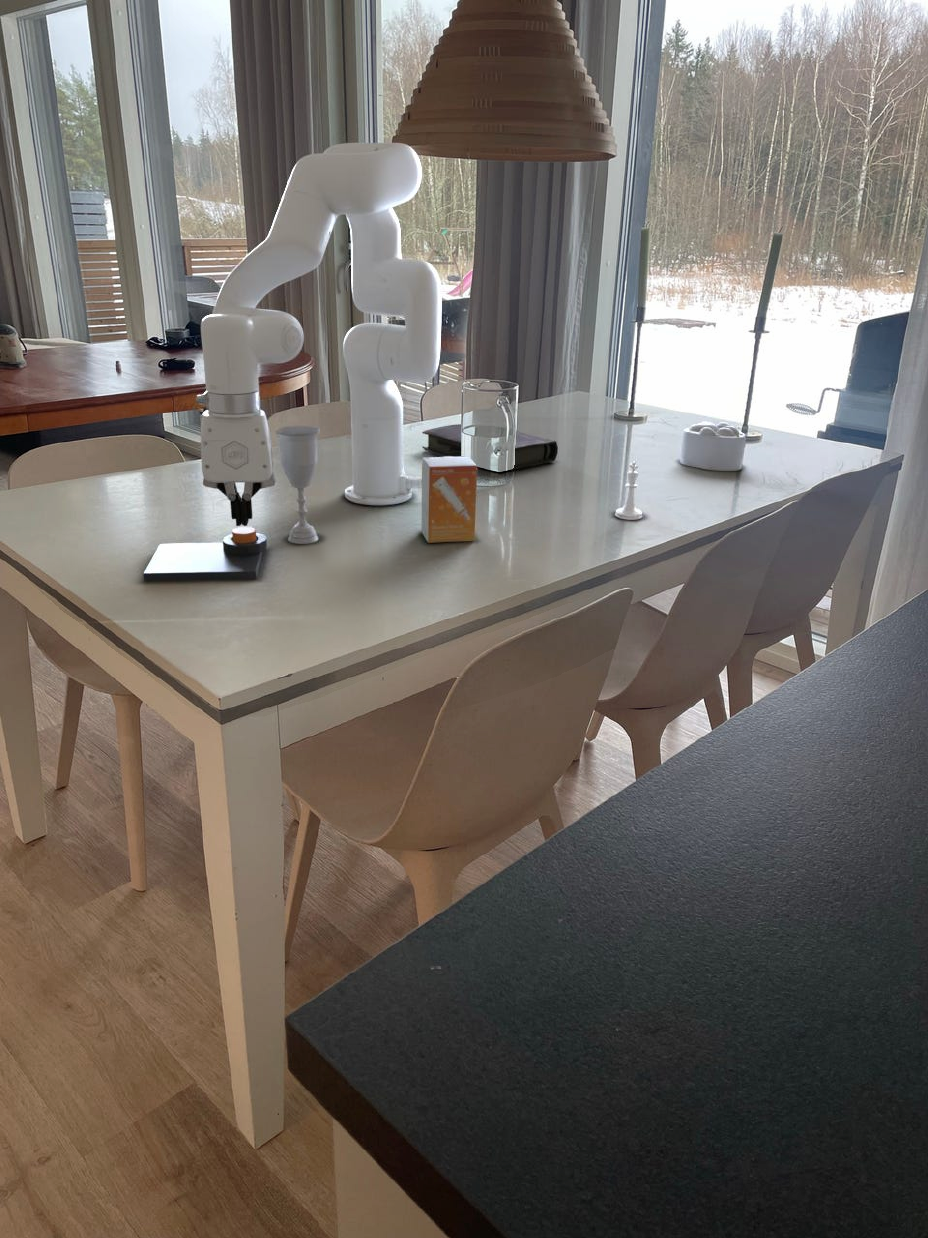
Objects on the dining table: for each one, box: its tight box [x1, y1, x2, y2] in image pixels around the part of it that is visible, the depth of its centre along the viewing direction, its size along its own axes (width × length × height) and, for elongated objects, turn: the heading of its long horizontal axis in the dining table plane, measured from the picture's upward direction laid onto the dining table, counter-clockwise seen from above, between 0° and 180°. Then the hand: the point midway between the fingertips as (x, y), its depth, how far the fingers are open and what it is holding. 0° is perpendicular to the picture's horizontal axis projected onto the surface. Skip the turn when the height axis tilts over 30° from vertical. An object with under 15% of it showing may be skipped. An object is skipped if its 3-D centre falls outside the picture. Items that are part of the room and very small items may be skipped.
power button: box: [231, 526, 257, 543], centre depth 144 cm, size 4×4×2 cm
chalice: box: [275, 425, 320, 545], centre depth 150 cm, size 7×7×18 cm
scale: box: [142, 532, 268, 583], centre depth 141 cm, size 17×13×3 cm
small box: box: [420, 456, 478, 544], centre depth 154 cm, size 8×6×13 cm
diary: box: [422, 423, 559, 471], centre depth 206 cm, size 19×25×5 cm
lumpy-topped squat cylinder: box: [679, 421, 747, 472], centre depth 203 cm, size 10×13×9 cm
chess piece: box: [614, 461, 643, 521], centre depth 167 cm, size 5×5×10 cm
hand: (242, 523), depth 143 cm, fingers closed
